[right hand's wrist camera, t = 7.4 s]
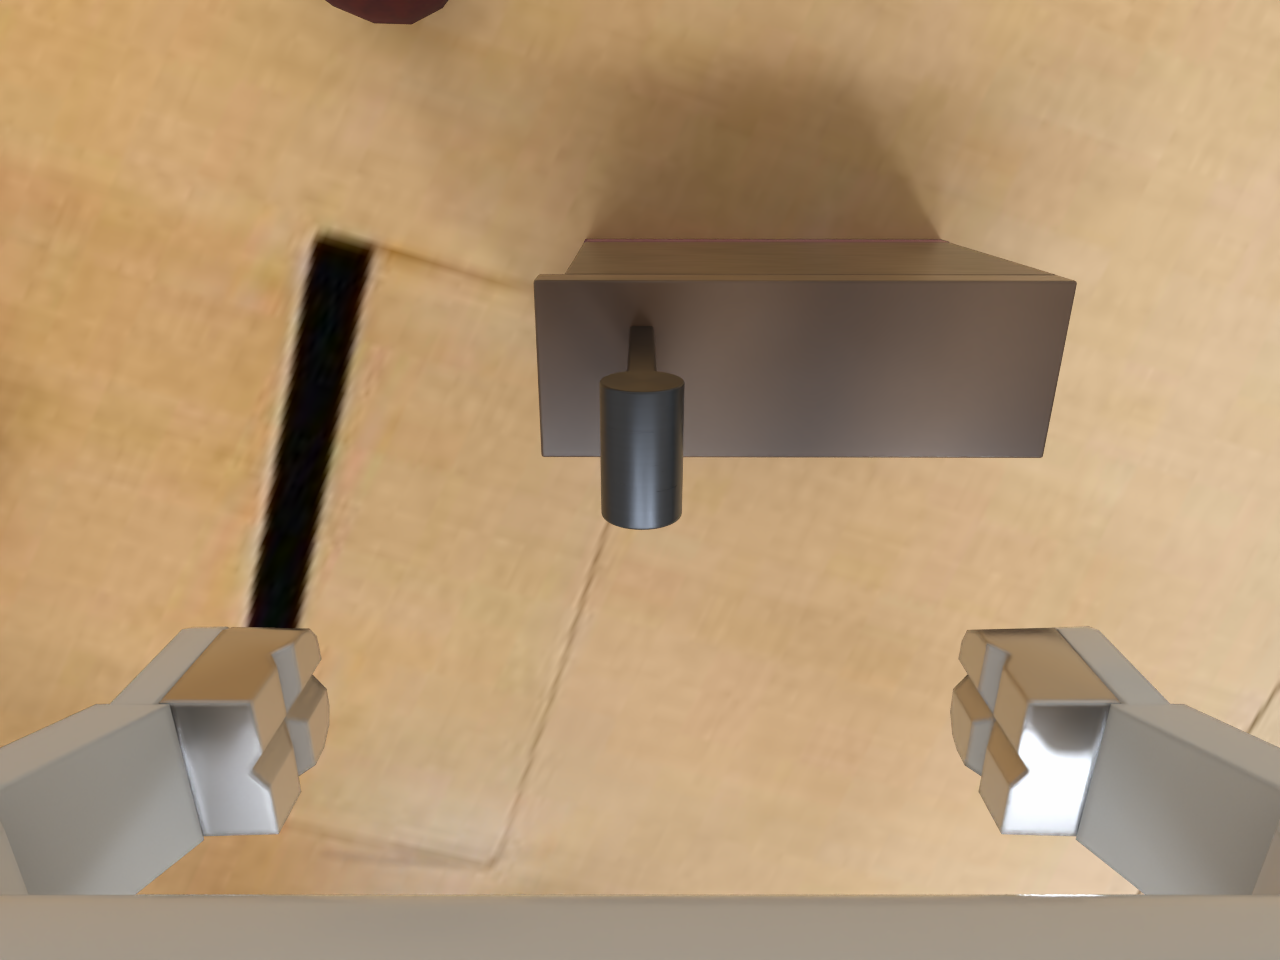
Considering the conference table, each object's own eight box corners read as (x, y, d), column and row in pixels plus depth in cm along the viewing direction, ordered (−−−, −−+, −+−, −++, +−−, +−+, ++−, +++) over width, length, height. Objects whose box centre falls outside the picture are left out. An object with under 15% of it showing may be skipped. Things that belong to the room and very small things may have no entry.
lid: (545, 444, 26) (502, 576, 18) (538, 273, 24) (486, 336, 16) (1025, 445, 26) (1198, 577, 18) (1057, 274, 24) (1267, 337, 16)
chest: (588, 366, 36) (569, 444, 26) (585, 239, 34) (563, 273, 24) (924, 367, 36) (1025, 445, 26) (941, 239, 34) (1057, 274, 24)
